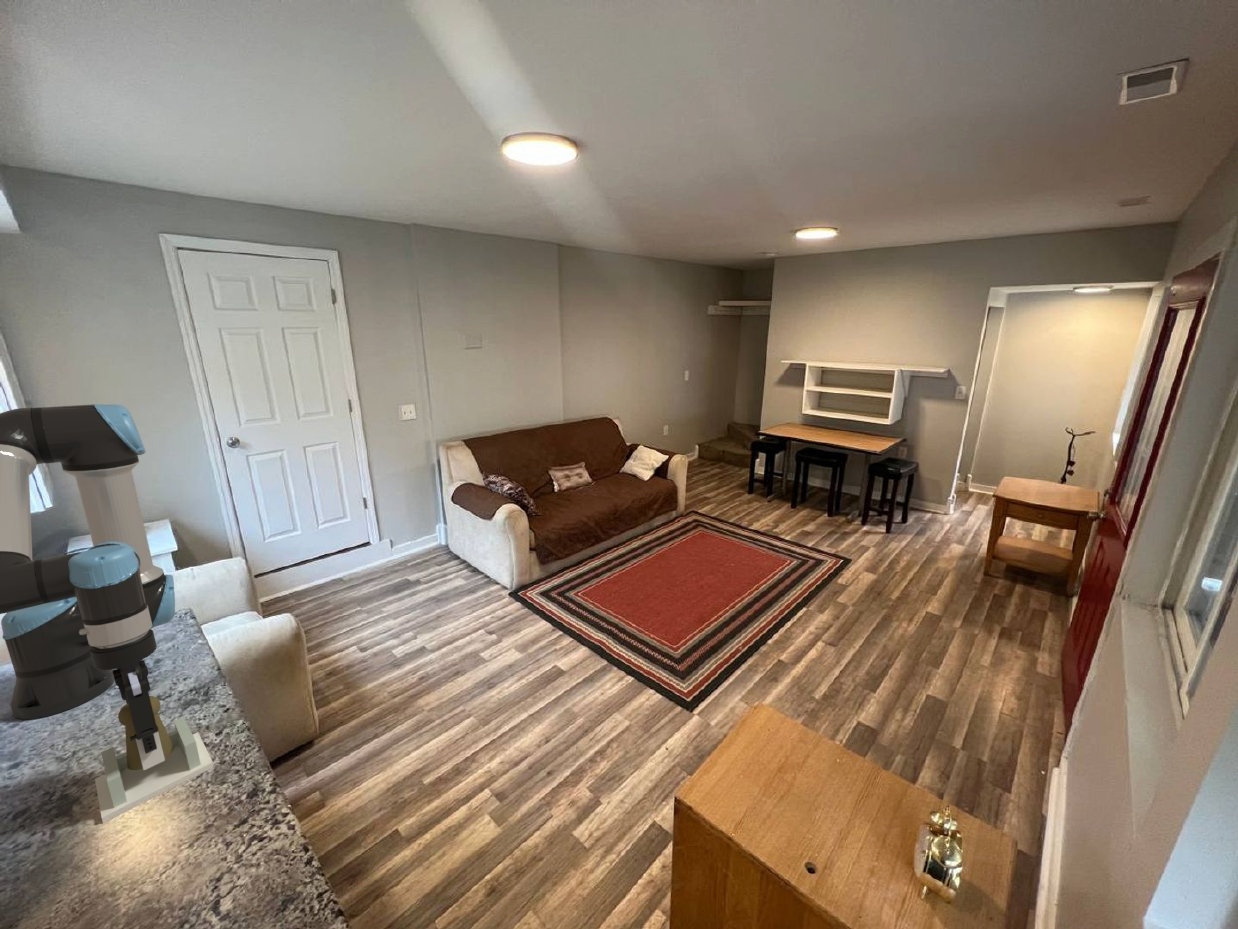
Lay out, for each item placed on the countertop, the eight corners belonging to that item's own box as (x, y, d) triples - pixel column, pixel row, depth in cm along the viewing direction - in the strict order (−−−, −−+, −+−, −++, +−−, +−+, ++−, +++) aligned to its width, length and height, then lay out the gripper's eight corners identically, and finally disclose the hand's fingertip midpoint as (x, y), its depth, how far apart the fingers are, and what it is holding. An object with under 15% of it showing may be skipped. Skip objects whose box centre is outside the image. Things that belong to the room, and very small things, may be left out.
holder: (96, 783, 84) (88, 754, 83) (199, 736, 95) (193, 710, 93) (103, 823, 77) (94, 792, 75) (213, 767, 87) (207, 738, 86)
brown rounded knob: (144, 772, 81) (130, 716, 79) (117, 767, 82) (102, 712, 80) (182, 745, 87) (170, 692, 85) (157, 741, 88) (144, 688, 86)
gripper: (84, 628, 83) (114, 742, 88) (94, 669, 71) (128, 798, 76) (144, 611, 89) (169, 719, 93) (162, 646, 77) (190, 768, 82)
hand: (150, 754), depth 85 cm, fingers closed on brown rounded knob, 6 cm apart
